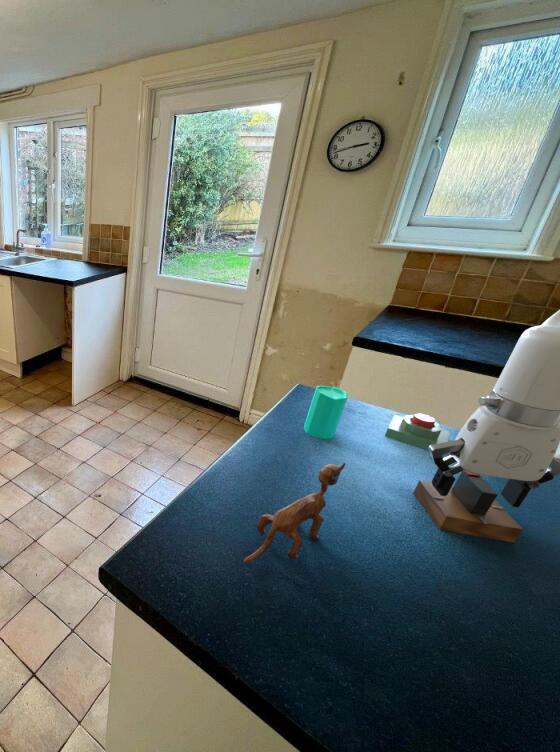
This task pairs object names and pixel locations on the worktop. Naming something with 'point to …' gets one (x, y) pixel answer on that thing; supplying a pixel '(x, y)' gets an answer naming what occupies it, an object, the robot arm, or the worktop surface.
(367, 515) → the worktop surface
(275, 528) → the cat figurine
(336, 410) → the candle
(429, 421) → the button
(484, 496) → the dark grey block
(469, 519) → the panel
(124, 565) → the worktop surface
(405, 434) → the button box
